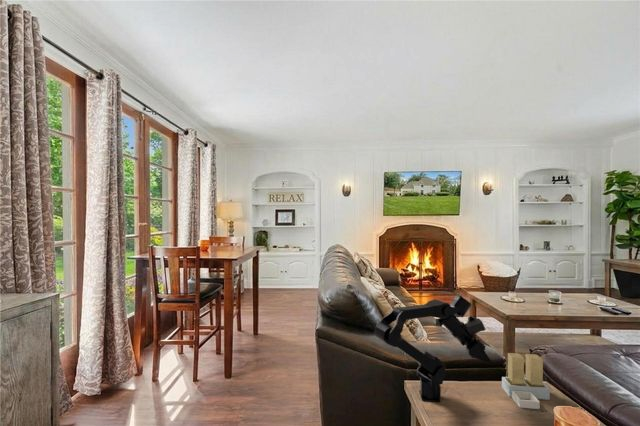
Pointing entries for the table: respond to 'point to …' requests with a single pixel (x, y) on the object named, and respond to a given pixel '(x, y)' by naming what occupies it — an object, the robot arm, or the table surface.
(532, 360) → the seated billet
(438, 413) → the table surface
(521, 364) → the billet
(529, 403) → the box
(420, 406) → the table surface
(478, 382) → the table surface
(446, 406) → the table surface
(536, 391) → the two-compartment pale blue organizer
